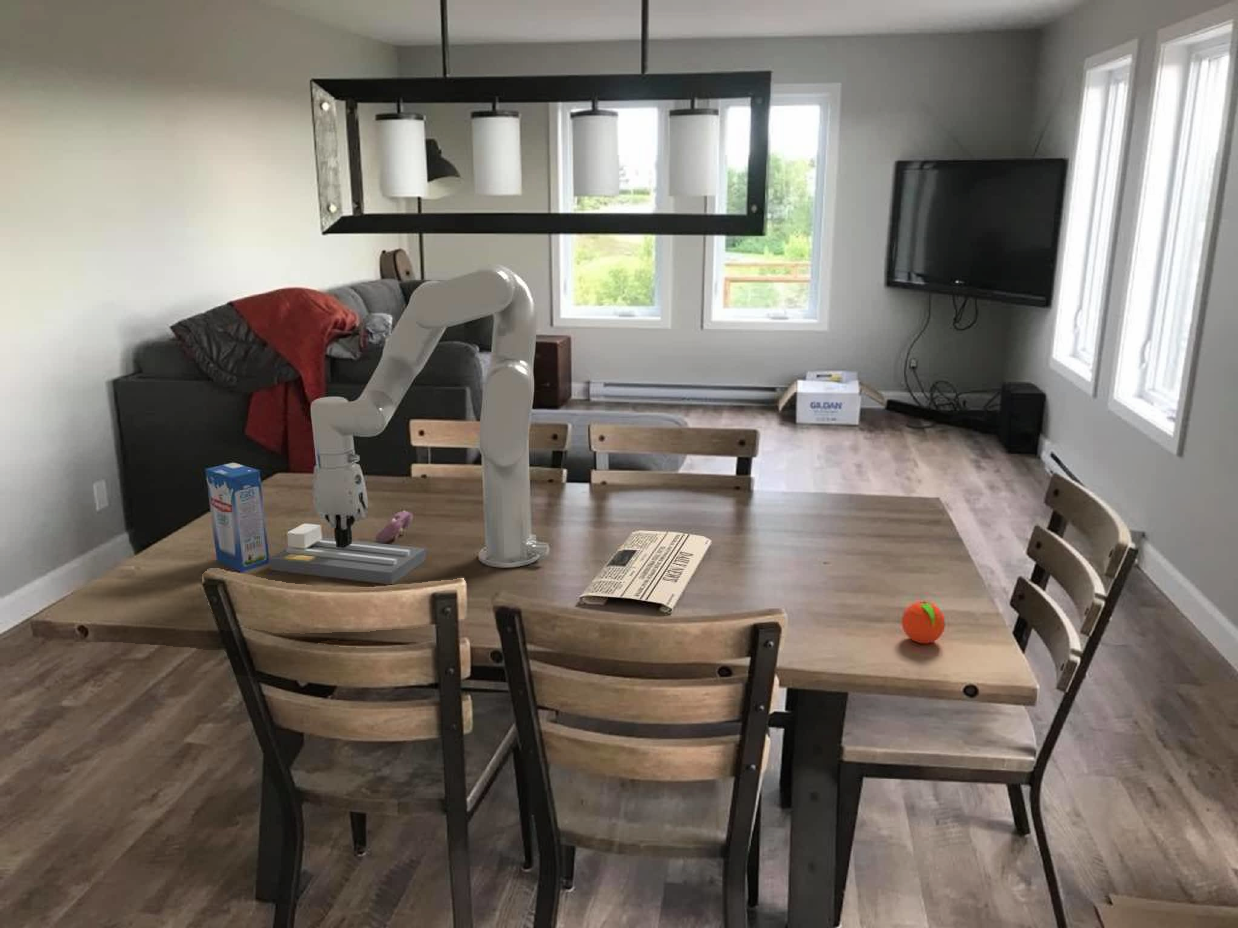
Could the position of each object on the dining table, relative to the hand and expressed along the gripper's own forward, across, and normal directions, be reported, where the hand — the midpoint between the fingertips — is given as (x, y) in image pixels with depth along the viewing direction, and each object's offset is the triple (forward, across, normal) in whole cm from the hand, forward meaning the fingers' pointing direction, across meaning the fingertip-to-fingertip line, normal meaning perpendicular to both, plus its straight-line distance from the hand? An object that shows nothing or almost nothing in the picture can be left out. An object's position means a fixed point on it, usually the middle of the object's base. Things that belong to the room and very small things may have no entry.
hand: (344, 545), depth 202 cm
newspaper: (+6, -62, -13) cm, 64 cm away
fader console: (+4, -1, 0) cm, 4 cm away
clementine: (+5, -114, +4) cm, 114 cm away
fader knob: (+1, +9, 0) cm, 9 cm away
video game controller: (+4, -2, -17) cm, 18 cm away
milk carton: (+4, +21, +5) cm, 22 cm away
